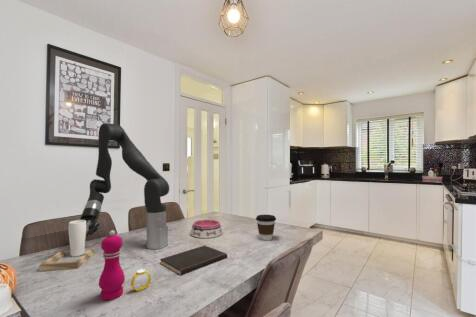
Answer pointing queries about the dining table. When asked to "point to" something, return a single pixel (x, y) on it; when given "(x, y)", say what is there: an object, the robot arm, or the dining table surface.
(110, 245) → the pepper mill
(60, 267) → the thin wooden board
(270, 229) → the coffee cup
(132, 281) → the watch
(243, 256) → the dining table surface
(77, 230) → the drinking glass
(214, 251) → the hardcover book
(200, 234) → the dog bowl
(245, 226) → the dining table surface
